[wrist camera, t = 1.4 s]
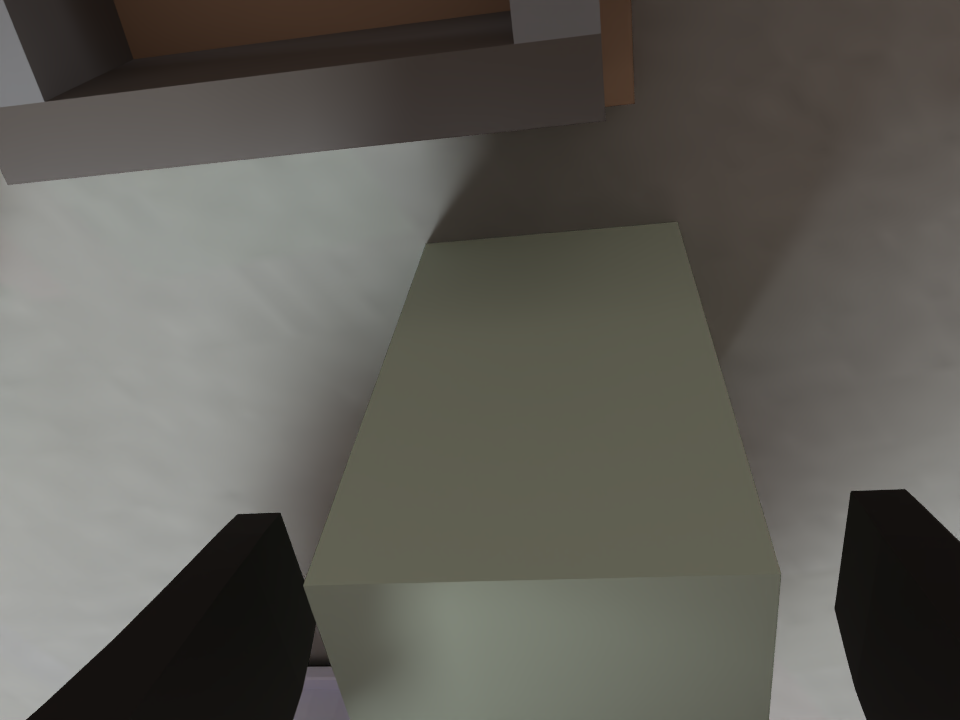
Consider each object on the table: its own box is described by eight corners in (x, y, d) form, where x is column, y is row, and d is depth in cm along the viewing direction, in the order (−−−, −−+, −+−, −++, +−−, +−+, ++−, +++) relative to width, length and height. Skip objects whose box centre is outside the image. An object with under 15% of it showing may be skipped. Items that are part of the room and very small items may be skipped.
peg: (678, 428, 16) (758, 842, 9) (461, 439, 17) (390, 834, 10) (677, 222, 14) (780, 573, 7) (425, 243, 15) (302, 585, 8)
